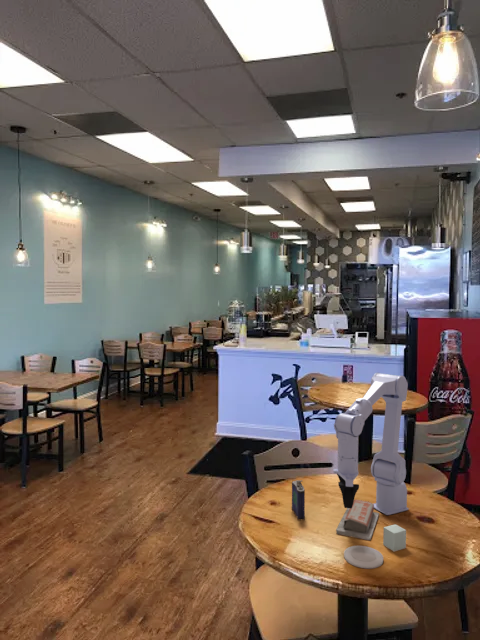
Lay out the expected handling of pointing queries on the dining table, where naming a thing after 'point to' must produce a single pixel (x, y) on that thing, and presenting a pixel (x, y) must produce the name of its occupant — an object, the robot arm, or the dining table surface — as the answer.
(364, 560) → the saucer
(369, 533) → the packaged product
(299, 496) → the flask
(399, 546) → the mint block
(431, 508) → the dining table surface
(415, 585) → the dining table surface
